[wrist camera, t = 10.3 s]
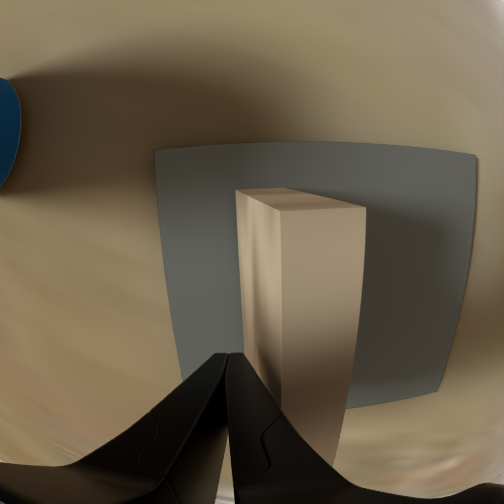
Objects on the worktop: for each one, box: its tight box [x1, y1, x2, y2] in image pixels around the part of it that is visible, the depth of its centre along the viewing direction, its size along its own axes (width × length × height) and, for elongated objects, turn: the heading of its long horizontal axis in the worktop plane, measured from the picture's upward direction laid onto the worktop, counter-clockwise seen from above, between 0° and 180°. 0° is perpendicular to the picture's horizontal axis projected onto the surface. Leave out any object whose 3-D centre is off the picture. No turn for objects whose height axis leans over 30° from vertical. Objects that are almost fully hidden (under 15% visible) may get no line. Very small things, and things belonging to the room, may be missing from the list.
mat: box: [154, 142, 476, 409], centre depth 13 cm, size 13×14×1 cm
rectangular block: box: [235, 188, 366, 467], centre depth 10 cm, size 9×2×6 cm, turn 2°
